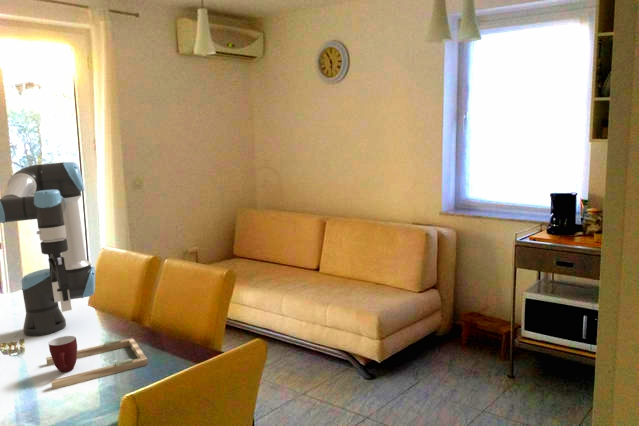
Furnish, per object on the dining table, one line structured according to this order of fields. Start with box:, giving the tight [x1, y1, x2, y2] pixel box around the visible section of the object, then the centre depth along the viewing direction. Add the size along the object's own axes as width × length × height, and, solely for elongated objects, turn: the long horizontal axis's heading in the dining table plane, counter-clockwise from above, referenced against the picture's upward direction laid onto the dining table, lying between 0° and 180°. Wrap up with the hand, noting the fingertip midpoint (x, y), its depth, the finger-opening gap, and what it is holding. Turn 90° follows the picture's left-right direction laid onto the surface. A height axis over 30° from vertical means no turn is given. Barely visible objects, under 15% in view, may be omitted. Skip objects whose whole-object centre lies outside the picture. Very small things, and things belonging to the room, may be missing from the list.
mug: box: [48, 335, 78, 374], centre depth 179 cm, size 11×8×10 cm
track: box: [45, 337, 149, 390], centre depth 184 cm, size 23×28×3 cm
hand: (62, 305), depth 177 cm, fingers open, 13 cm apart
